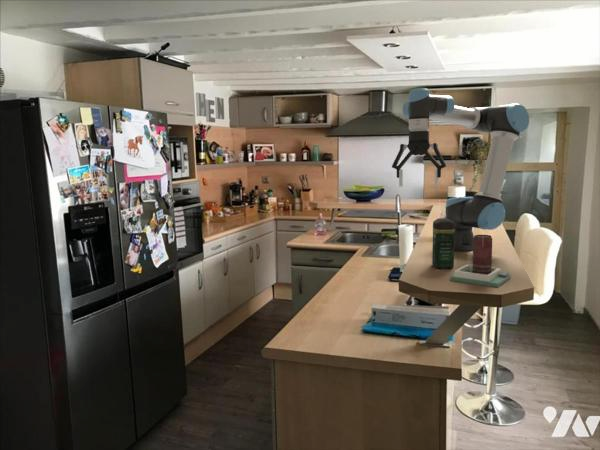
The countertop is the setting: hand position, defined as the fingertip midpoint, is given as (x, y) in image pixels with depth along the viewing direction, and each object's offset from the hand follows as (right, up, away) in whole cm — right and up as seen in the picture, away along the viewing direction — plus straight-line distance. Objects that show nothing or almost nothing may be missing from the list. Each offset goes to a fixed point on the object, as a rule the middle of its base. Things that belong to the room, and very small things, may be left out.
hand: (418, 186), depth 190 cm
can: (+17, -33, -20) cm, 42 cm away
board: (+17, -34, -20) cm, 43 cm away
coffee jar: (+9, -31, -1) cm, 32 cm away
